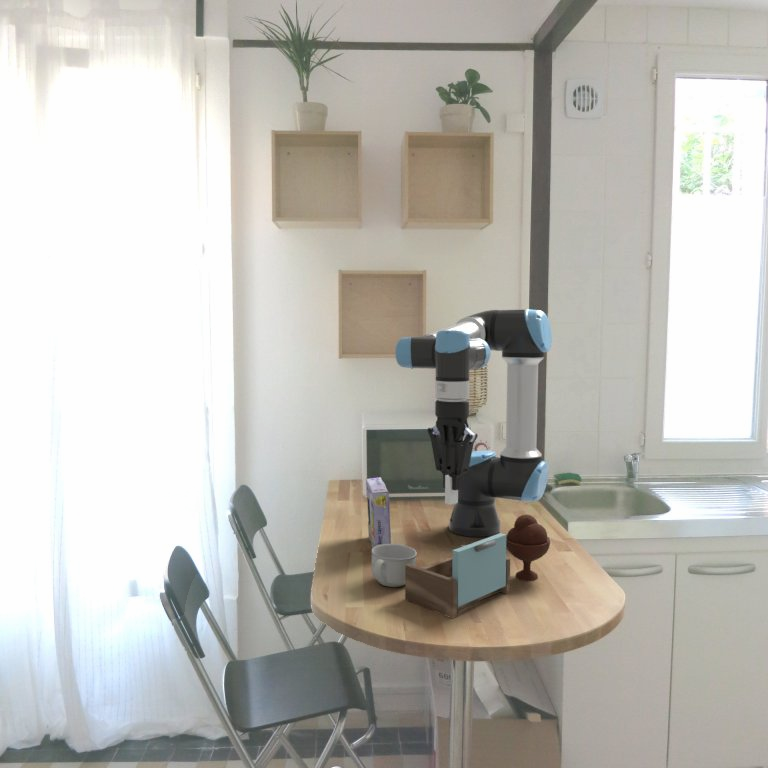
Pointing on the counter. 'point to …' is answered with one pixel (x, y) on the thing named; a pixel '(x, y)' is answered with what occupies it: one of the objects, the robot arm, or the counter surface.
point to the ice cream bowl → (527, 544)
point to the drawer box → (439, 587)
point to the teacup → (391, 563)
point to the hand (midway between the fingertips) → (451, 503)
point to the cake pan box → (378, 512)
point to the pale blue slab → (479, 568)
